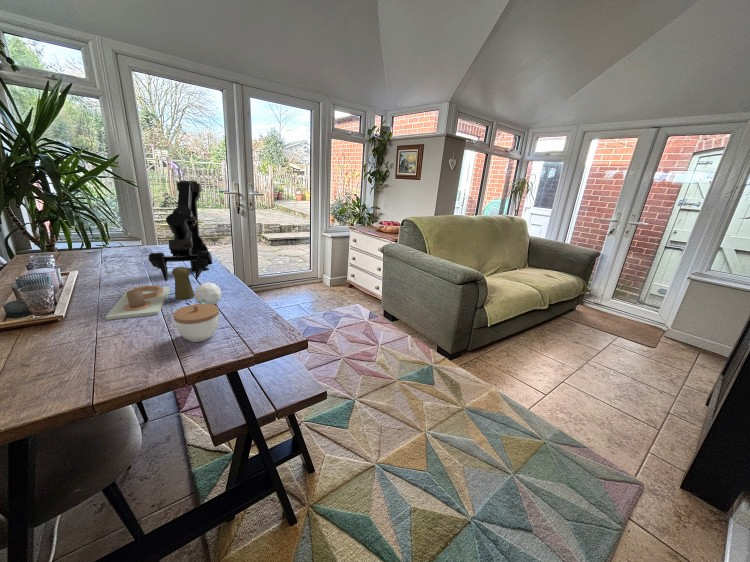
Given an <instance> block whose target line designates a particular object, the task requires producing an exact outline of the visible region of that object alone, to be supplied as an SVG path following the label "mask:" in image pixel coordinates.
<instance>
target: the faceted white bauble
mask: <svg viewBox="0 0 750 562" xmlns="http://www.w3.org/2000/svg"><path fill="white" fill-rule="evenodd" d="M221 297H222V291H221V288H220V287H219V286H218V285H217V284H216V283H212V282H208V281H207V282H203V283H202V284H199V286H197V287H196V288H195V290H194V298H195V299H194V300H195V302H197V304H213V305H216V304H218V302H219V301H220V300H221Z"/></svg>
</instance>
